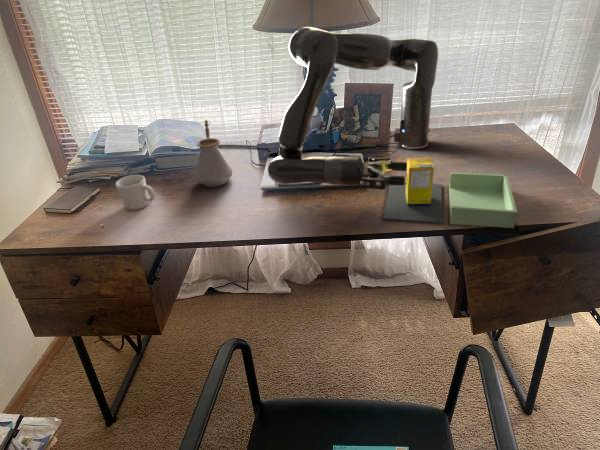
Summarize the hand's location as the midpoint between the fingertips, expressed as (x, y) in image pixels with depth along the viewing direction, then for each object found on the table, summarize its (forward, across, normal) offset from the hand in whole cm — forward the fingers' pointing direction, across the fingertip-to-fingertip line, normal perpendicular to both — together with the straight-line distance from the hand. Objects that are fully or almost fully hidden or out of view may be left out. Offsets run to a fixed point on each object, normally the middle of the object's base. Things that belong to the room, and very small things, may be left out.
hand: (405, 173), depth 112 cm
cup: (-72, -12, +8) cm, 74 cm away
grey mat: (+3, 0, +8) cm, 8 cm away
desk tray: (+18, 0, +8) cm, 20 cm away
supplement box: (+3, 0, +8) cm, 9 cm away
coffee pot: (-60, +10, +8) cm, 61 cm away
